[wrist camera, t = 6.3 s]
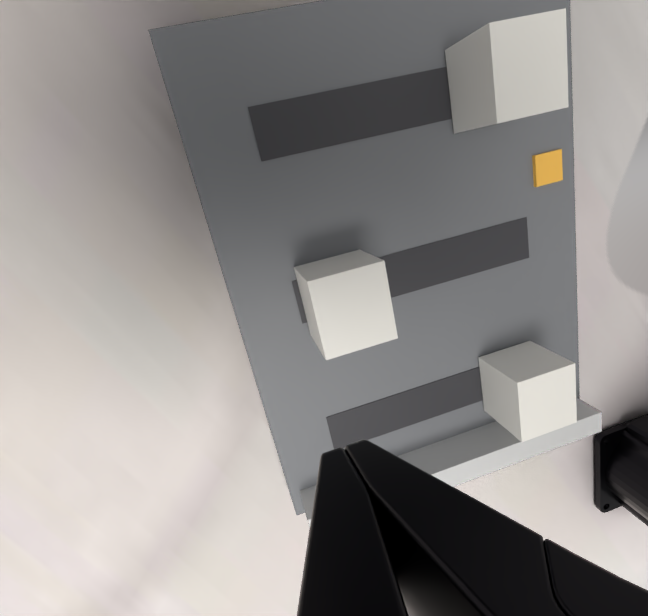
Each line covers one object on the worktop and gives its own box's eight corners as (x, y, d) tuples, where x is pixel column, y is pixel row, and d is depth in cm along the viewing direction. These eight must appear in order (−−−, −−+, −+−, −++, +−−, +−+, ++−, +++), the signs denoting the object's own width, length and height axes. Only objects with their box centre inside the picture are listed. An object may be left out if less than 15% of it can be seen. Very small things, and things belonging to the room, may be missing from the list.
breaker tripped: (372, 316, 19) (398, 338, 17) (310, 334, 19) (326, 360, 16) (359, 249, 18) (384, 260, 16) (293, 267, 18) (307, 281, 15)
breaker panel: (554, 396, 26) (609, 431, 22) (290, 489, 23) (303, 546, 20) (534, -19, 19) (611, -69, 15) (156, 47, 16) (137, 6, 13)
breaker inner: (533, 393, 23) (576, 422, 20) (484, 410, 22) (521, 442, 20) (529, 340, 22) (575, 363, 19) (478, 357, 21) (517, 382, 19)
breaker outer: (515, 119, 18) (568, 107, 16) (453, 133, 18) (497, 123, 15) (510, 36, 17) (566, 8, 15) (444, 49, 17) (489, 22, 14)
